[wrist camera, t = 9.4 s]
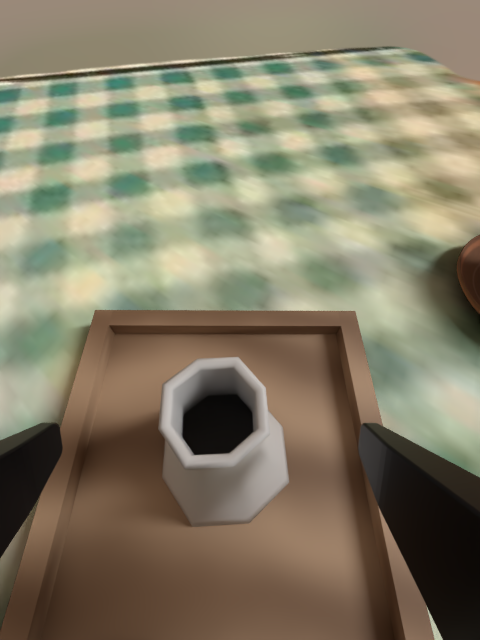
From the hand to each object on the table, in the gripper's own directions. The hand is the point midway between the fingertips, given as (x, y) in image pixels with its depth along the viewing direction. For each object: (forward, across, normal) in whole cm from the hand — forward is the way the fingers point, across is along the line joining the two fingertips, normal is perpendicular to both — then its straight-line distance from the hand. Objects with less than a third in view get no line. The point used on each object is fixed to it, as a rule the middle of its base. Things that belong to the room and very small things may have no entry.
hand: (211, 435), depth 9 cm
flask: (+7, 0, +6) cm, 9 cm away
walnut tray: (+7, 0, +7) cm, 10 cm away
